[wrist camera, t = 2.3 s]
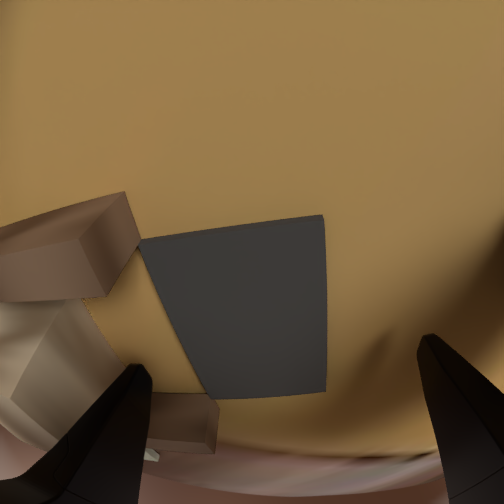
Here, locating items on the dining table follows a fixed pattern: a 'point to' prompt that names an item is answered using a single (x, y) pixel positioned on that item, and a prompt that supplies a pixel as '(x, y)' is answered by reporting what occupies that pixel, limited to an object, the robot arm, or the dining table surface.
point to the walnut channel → (96, 294)
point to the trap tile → (248, 304)
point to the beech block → (50, 368)
